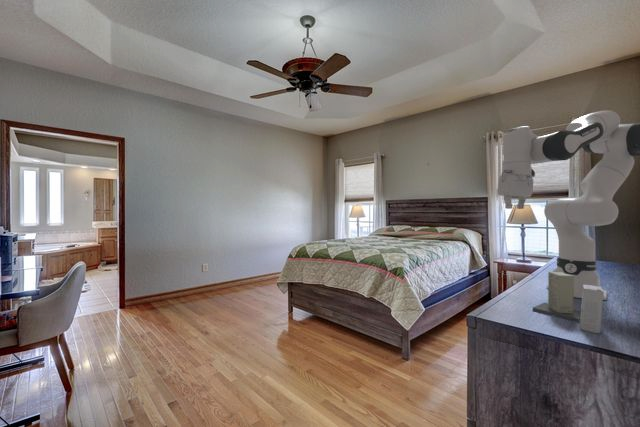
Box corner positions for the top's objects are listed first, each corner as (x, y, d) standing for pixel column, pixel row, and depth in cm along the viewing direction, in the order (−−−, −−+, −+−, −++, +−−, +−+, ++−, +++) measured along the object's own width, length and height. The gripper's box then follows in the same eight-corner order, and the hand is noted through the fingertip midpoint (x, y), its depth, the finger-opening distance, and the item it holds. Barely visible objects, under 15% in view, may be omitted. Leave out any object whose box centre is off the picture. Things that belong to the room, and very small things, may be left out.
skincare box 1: (573, 314, 93) (575, 276, 93) (558, 313, 94) (559, 275, 94) (561, 307, 99) (562, 271, 99) (546, 306, 100) (547, 271, 100)
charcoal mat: (544, 305, 105) (544, 302, 105) (588, 316, 95) (588, 313, 95) (532, 310, 99) (532, 307, 99) (578, 322, 89) (578, 319, 89)
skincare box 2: (579, 323, 88) (581, 283, 88) (600, 328, 85) (601, 286, 85) (580, 330, 83) (581, 287, 83) (602, 334, 81) (603, 290, 80)
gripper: (512, 168, 100) (511, 208, 100) (537, 172, 112) (535, 209, 112) (493, 169, 105) (491, 208, 106) (518, 174, 117) (517, 208, 117)
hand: (514, 208), depth 109 cm, fingers open, 8 cm apart
